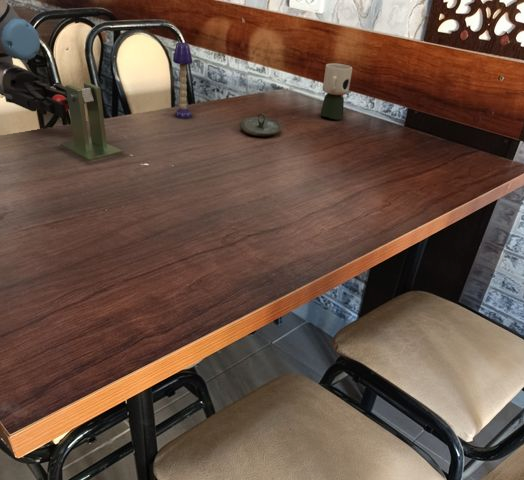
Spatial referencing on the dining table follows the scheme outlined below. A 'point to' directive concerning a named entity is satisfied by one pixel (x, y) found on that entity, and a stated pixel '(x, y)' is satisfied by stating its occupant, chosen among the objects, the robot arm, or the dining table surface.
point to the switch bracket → (82, 143)
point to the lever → (86, 97)
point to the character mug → (335, 89)
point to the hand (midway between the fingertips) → (73, 110)
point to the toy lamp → (183, 76)
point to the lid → (260, 126)
